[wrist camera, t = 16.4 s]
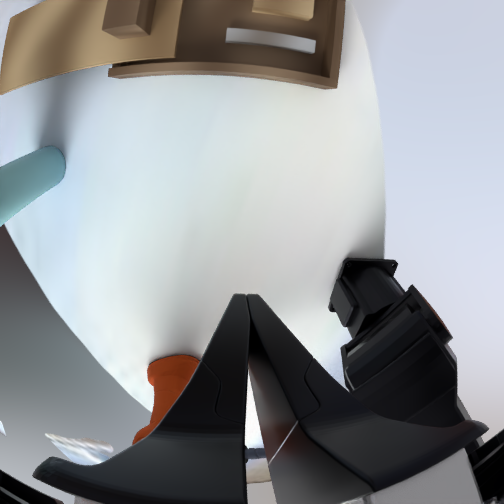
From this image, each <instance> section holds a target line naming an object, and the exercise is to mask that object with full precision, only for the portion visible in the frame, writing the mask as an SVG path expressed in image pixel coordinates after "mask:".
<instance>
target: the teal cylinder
mask: <svg viewBox="0 0 504 504" xmlns="http://www.w3.org/2000/svg"><path fill="white" fill-rule="evenodd" d="M65 169H66V164H65V159H64V156H63V154H62V153H61V151H60V150H59V149H58V148H56V147H54V146H47V147H44V148H42V149H39V150H37V151H34V152H32V153H29V154H27V155H25V156H23V157H20V158H18V159H16V160H14V161H12V162H10V163H8V164H5V165H3V166H1V167H0V226H2V225H3V224H4V223H5V222H6V221H8V220H9V219H10V218H11V217H13V216H14V215H15V214H16V213H18V212H19V211H20V210H22V209H23V208H24V207H26V206H27V205H28V204H30V203H31V202H32V201H34V200H35V199H36V198H38V197H39V196H41V195H42V194H44V193H45V192H46V191H48V190H49V189H51V188H52V187H54V186H55V185H57V184H58V183H60V182H61V180H62V179H63V177H64V174H65Z"/></svg>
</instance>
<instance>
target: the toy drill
mask: <svg viewBox="0 0 504 504" xmlns="http://www.w3.org/2000/svg"><path fill="white" fill-rule="evenodd" d="M199 362H200V361H199V360H198V359H196V358H194V357H192V356H188V355H175V356H170V357H166V358H162V359H159V360H157V361H154V362H152V363H151V364H150V365H149V367H148V370H147V375H148V381H149V383H150V384H151V385H152V386H154V394H155V395H154V406H153V412H152V416H151V420H150V424H149V425H148V426H146V427H144V428H142V429H141V430H140V431H138V432H137V434H136V436H135V437H134V440H133V444H132V445H134V444H135V443H137V442H138V441H140V440H142V439H143V438H145V437H146V436H147V435H149V434H150V433H151V432H152V431H153V430H154V429H155V428H156V426H157V425H158V424H159V423H160V421H161V420H162V419H163V417H164V416H165V415H166V413H167V412H168V411H169V409H170V408H171V407H172V405H173V404H174V403H175V401H176V400H177V398H178V397H179V396H180V394H181V393H182V391H183V390H184V388H185V387H186V385H187V384H188V382H189V381H190V379H191V377H192V375H193V374H194V372H195V370H196V368H197V366H198V364H199ZM260 458H266V453H265V449H264V448H256V449H254V448H249V449H248V448H247V447H246V446H245V461H246V463H247V462H248V459H260Z"/></svg>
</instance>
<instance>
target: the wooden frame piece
mask: <svg viewBox="0 0 504 504" xmlns="http://www.w3.org/2000/svg"><path fill="white" fill-rule="evenodd" d="M344 15H345V0H184V3H183V9H182V15H181V21H180V27H179V34H178V41H177V49H176V57H175V58H160V59H147V60H137V61H128V62H120V63H113V66H112V68H109V71H108V77H113V78H119V79H123V78H132V77H143V76H158V75H224V76H239V77H250V78H260V79H268V80H275V81H282V82H289V83H295V84H300V85H306V86H311V87H316V88H321V89H336V88H337V85H338V77H339V68H340V59H341V50H342V40H343V28H344Z"/></svg>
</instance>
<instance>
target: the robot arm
mask: <svg viewBox="0 0 504 504" xmlns="http://www.w3.org/2000/svg"><path fill="white" fill-rule="evenodd" d="M348 263H349V264H348ZM347 264H348V265H347ZM393 264H394V265H393ZM392 265H393V266H392ZM397 266H398V263H397V262H396V261H395V260H388V259H360V258H347V259H345V260H344V262H343V264H342V267H341V271H340V274H339V277H338V279H337V280H336V283H335V286H334V289H333V292H332V294H331V297H330V303H329V306H328V308H329V311H330V312H336V313H337V315H338V317H339V319H340V321H341V324H342V325H343V327H347V328H348V330H349V332H350V335H351V337H352V340H351V341H350V342H349V343H347V344H345V345H343V346H342V347H341V356H342V364H343V372H344V379H345V385H346V387H347V388H348V389H349V392H348V391H347V390H346V389H345V388H344V387H343V386H341V385H340V384H339V383H338V382H337V381H336V380H335V379H334V378H333V377H332V376H331V375H330V374H329V373H328V372H327V371H326V370H325V369H324V368H323V367H322V366H321V365H320V364H319V363H318V362H317V360H316V359H315V358H313V356H312V355H311V354H310V353H309V352H308V350H307V349H306V348H305V347H304V346H303V345H302V344H301V343H300V341H299V340H298V339H297V338H296V337H295V336H294V335H293V333H292V332H291V331H290V330H289V329H288V328H287V327H286V325H285V324H284V323H283V322H282V321H281V320H280V319H279V317H278V316H277V315H276V314H275V313H274V312H273V310H272V309H271V308H270V307H269V306H268V305H267V304H266V302H265V301H264V300H263V299H262V298H261V297H260V295H258V294H247V295H245V294H234V295H233V296H232V298H231V300H230V302H229V304H228V306H227V308H226V310H225V312H224V314H223V316H222V318H221V320H220V322H219V324H218V326H217V328H216V330H215V332H214V334H213V336H212V338H211V340H210V342H209V344H208V346H207V348H206V350H205V352H204V354H203V356H202V358H201V361H200V362H199V364H198V366H197V368H196V370H195V372H194V374H193V375H192V377H191V379H190V381H189V382H188V384H187V385H186V387H185V388H184V390H183V391H182V393H181V394H180V396H179V397H178V398H177V400H176V401H175V403H174V404H173V405H172V407H171V408H170V409H169V411H168V412H167V413H166V415H165V416H164V417H163V419H162V420H161V421H160V423H159V424H158V425H157V426H156V428H155V429H154V430H153V431H152V432H151V433H150V434H149V435H147V436H146V437H145V438H143V439H142V440H140V441H138V442H137V443H135V444H134V445H132V446H130V447H129V448H127V449H125V450H124V451H122V452H120V453H119V454H117V455H115V456H113V457H112V458H110V459H108V460H106V461H104V462H102V463H100V464H96V465H79V464H76V463H73V462H70V461H67V460H64V459H61V458H57V457H49V458H48V459H46V460H45V461H44V462H43V463H41V464H40V465H39V466H38V467H37V468H36V469H35V471H34V473H33V475H32V476H33V477H34V478H36V479H37V480H40V481H42V482H44V483H46V484H48V485H50V486H52V487H55V488H57V489H59V490H62V491H64V492H66V493H69V494H71V495H74V496H75V502H74V504H248V500H247V482H246V461H245V422H246V402H247V382H248V370H249V375H250V381H251V386H252V391H253V396H254V401H255V406H256V411H257V416H258V420H259V425H260V430H261V435H262V439H263V444H264V449H265V453H266V458H267V462H268V467H269V472H270V476H271V480H272V485H273V489H274V493H275V497H276V502H277V504H504V429H503V430H502V431H500V432H499V433H498V434H496V435H495V436H494V437H492V438H491V439H490V440H488V441H487V442H486V443H484V442H483V440H482V438H481V436H482V435H483V434H484V433H485V432H487V431H488V430H489V428H488V427H487V426H486V425H485V424H484V423H482V422H479V421H475V420H472V419H471V418H470V416H469V414H468V412H467V410H466V409H465V407H464V405H463V404H462V402H461V400H460V398H459V397H458V395H457V358H456V356H455V354H454V353H453V351H452V350H451V348H450V347H449V346H448V344H447V343H448V342H449V341H450V340H451V339H452V338H453V337H452V335H451V334H450V332H449V330H448V329H447V327H446V326H445V324H444V323H443V321H442V320H441V318H440V317H439V316H438V314H437V313H436V312H435V310H434V309H433V308H432V307H431V305H430V304H429V303H428V302H427V300H426V299H425V298H424V297H423V296H422V295H421V293H420V292H419V291H418V290H417V289H416V288H415V287H414V286H413V285H411V286H410V287H409V288H408V290H407V291H406V292H405V291H404V289H403V288H402V287H401V286H400V284H399V283H398V282H397V280H396V279H395V278H394V277H393V276H394V273H395V271H396V268H397ZM0 504H64V503H63V502H62V501H60V500H58V499H55V498H53V497H51V496H48V495H46V494H44V493H42V492H40V491H38V490H36V489H34V488H32V487H30V486H28V485H26V484H24V483H23V482H21V481H19V480H17V479H16V478H14V477H12V476H10V475H9V474H7V473H5V472H4V471H2V470H0Z"/></svg>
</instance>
